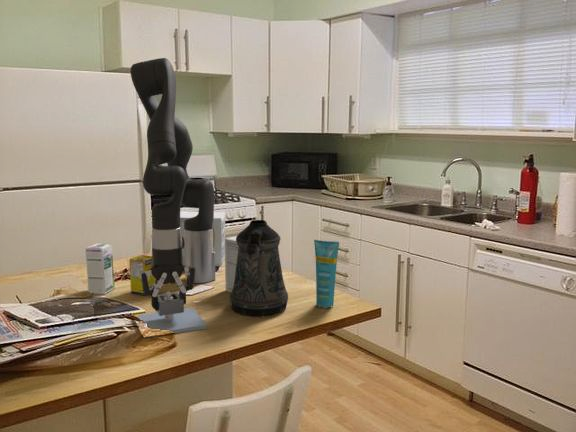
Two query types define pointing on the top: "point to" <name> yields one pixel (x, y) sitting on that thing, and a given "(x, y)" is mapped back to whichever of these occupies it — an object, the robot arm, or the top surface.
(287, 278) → the top surface
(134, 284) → the supplement box
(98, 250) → the syrup box
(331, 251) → the tube
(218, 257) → the supplement box
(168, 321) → the keeper plate
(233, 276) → the supplement box
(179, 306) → the tissue dispenser
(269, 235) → the dark ornate coffee pot
